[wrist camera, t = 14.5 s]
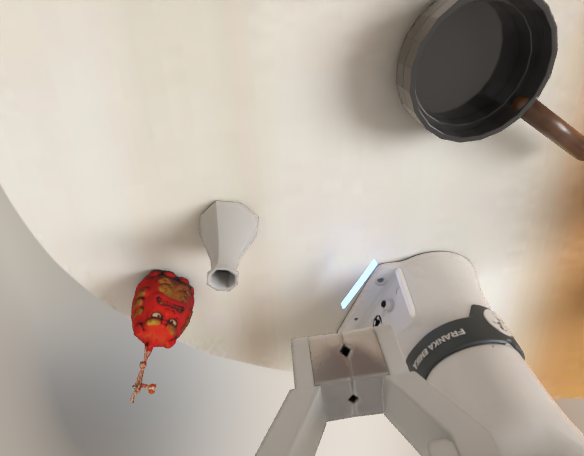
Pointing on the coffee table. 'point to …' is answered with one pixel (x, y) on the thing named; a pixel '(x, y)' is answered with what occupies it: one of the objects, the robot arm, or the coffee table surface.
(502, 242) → the coffee table surface
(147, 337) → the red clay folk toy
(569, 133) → the pan handle
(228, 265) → the flask
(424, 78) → the pan
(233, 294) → the coffee table surface
